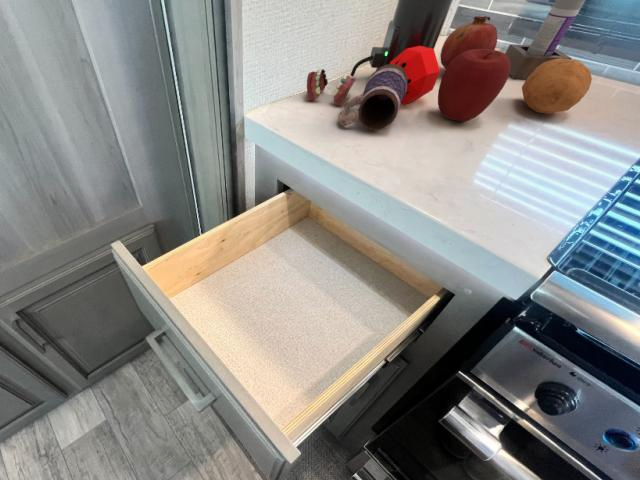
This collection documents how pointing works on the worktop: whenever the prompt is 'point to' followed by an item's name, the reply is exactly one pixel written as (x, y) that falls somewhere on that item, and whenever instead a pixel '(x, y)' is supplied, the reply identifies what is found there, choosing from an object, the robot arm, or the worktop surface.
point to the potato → (556, 85)
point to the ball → (418, 71)
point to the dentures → (319, 81)
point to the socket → (527, 60)
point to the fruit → (469, 39)
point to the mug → (378, 99)
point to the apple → (472, 83)
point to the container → (555, 26)
